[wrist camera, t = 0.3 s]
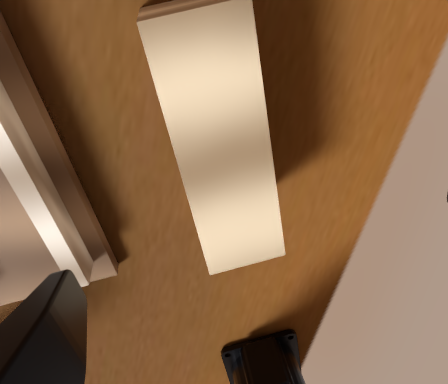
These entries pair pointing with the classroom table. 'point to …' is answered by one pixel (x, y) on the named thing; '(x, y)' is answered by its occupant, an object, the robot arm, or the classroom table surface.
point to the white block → (217, 124)
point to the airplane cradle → (40, 192)
